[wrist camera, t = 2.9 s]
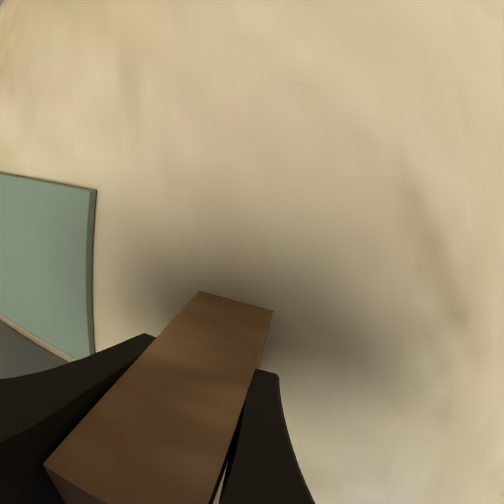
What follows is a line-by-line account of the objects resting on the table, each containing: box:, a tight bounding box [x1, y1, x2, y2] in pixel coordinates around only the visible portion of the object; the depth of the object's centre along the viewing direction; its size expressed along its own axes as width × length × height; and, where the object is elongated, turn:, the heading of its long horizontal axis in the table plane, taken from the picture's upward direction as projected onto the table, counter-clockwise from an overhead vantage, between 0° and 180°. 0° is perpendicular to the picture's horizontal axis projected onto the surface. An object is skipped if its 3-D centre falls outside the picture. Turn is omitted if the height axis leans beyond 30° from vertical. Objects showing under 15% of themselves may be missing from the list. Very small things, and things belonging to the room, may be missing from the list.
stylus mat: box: [0, 173, 96, 360], centre depth 12 cm, size 8×8×1 cm
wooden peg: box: [43, 291, 273, 504], centre depth 7 cm, size 3×3×8 cm
